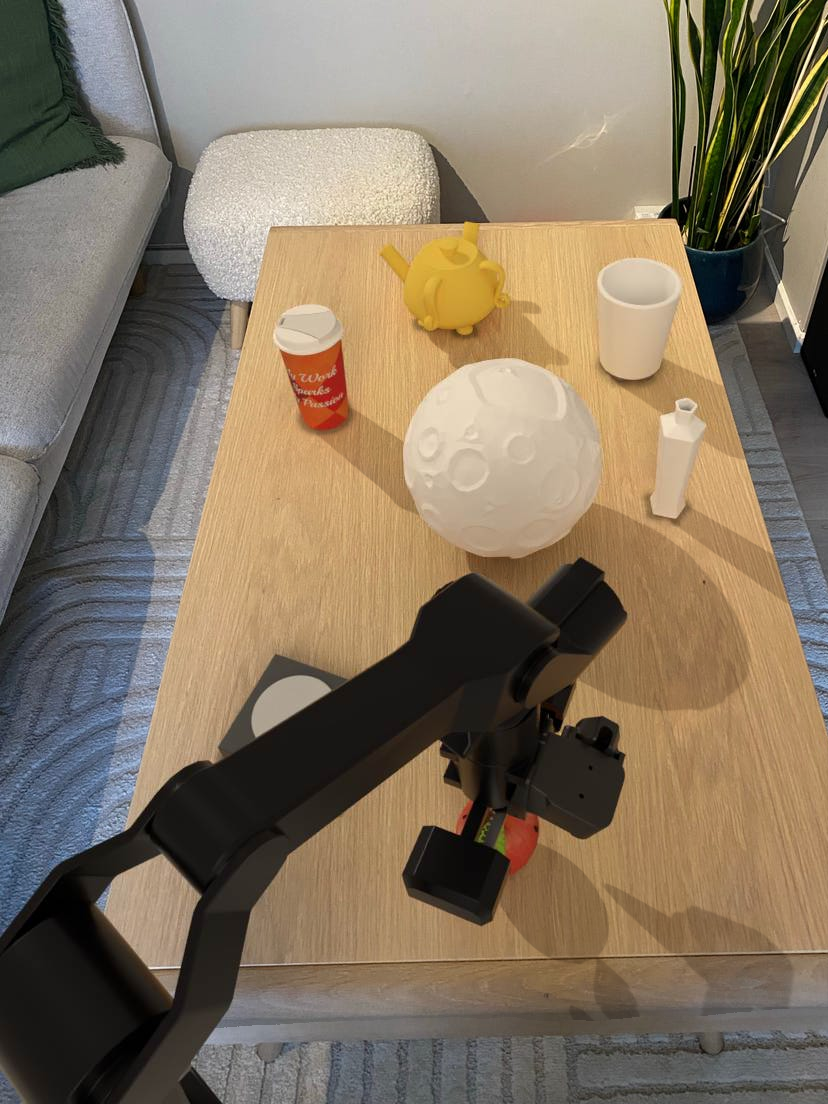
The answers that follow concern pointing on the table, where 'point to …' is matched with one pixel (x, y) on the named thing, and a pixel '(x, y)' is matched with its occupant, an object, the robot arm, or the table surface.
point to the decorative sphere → (502, 458)
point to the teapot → (450, 282)
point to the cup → (635, 315)
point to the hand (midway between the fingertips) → (497, 819)
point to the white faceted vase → (676, 457)
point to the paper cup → (314, 363)
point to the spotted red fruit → (510, 836)
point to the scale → (277, 699)
